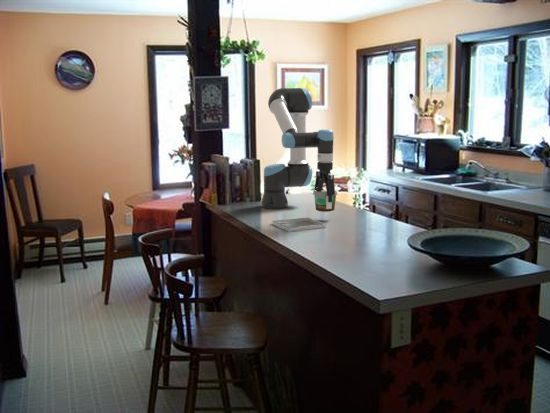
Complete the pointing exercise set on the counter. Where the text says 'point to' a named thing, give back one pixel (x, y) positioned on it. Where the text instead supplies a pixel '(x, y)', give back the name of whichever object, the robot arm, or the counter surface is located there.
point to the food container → (323, 201)
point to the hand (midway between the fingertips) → (324, 206)
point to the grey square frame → (319, 225)
